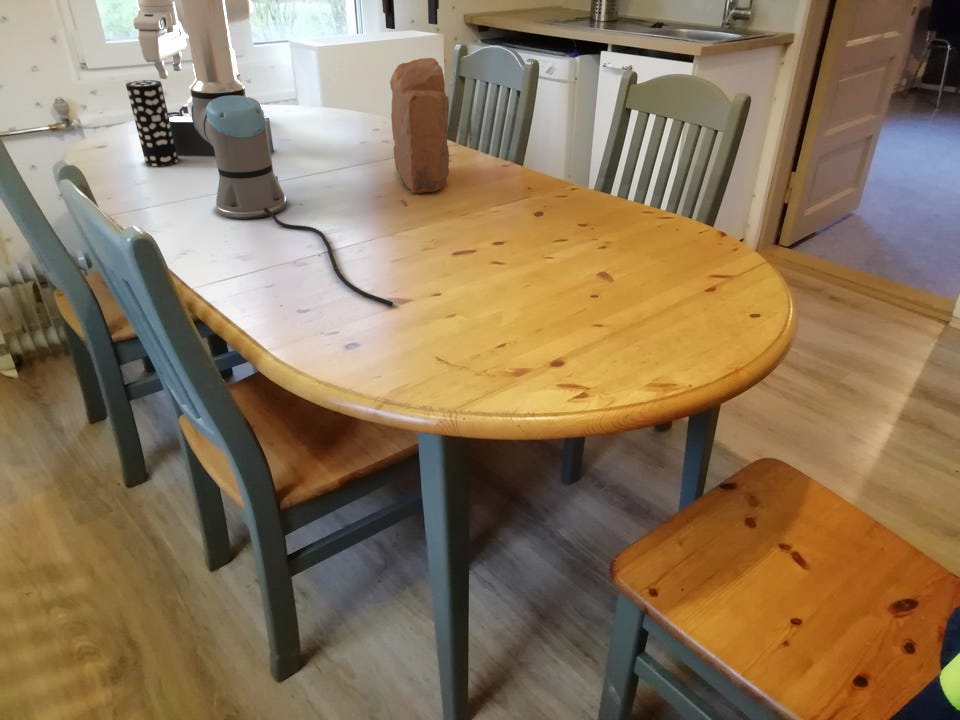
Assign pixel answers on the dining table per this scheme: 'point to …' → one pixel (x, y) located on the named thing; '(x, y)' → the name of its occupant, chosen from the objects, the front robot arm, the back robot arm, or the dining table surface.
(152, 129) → the black white spotted cylinder
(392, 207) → the dining table surface
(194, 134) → the bar
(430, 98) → the stone
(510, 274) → the dining table surface
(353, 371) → the dining table surface
